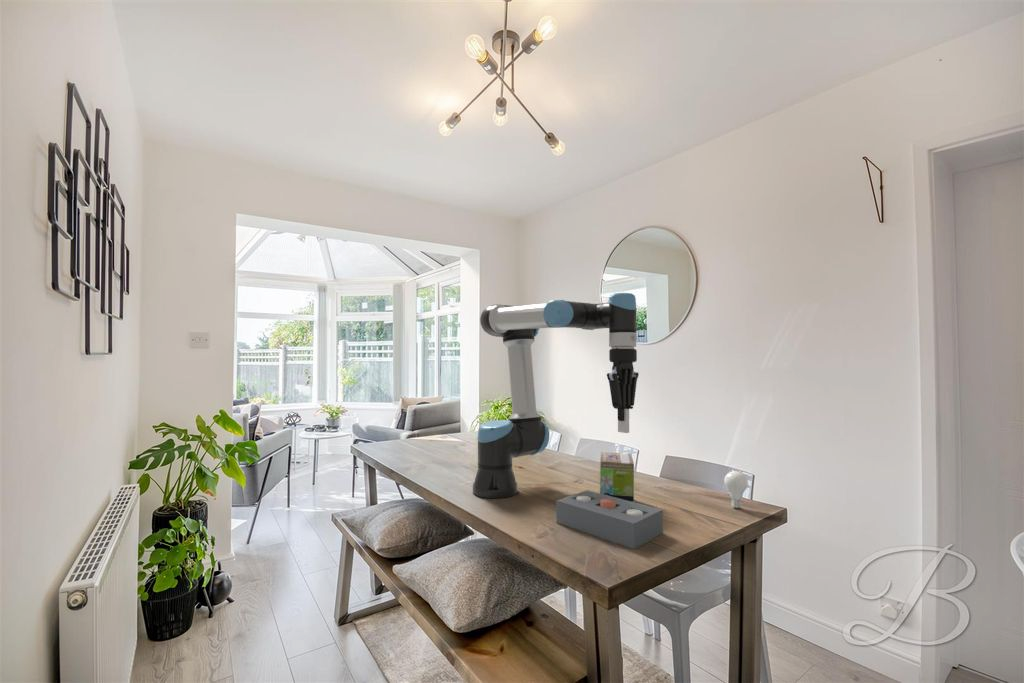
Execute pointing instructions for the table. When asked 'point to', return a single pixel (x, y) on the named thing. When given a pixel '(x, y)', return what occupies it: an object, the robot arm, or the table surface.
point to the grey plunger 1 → (583, 498)
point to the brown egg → (608, 503)
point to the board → (610, 519)
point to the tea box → (617, 475)
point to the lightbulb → (736, 487)
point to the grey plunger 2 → (634, 512)
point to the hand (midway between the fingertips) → (623, 432)
